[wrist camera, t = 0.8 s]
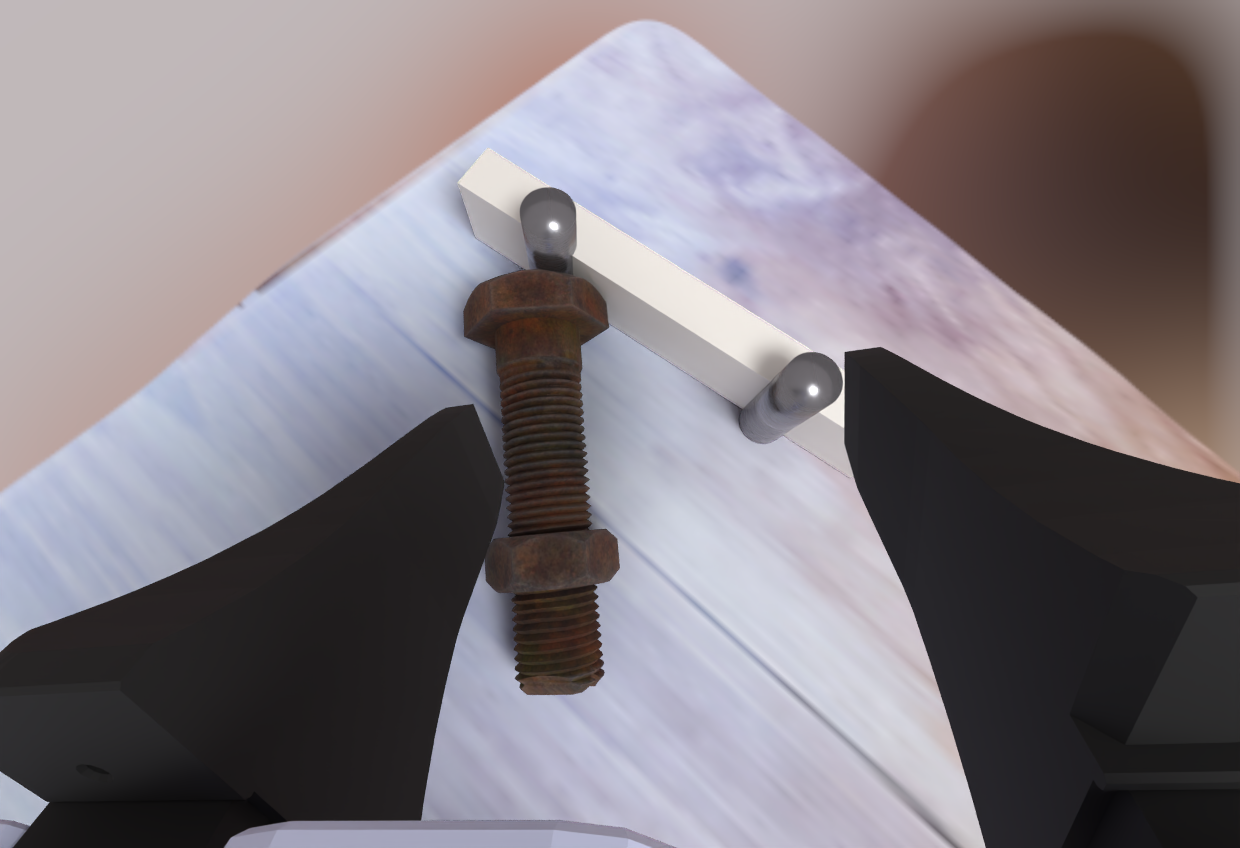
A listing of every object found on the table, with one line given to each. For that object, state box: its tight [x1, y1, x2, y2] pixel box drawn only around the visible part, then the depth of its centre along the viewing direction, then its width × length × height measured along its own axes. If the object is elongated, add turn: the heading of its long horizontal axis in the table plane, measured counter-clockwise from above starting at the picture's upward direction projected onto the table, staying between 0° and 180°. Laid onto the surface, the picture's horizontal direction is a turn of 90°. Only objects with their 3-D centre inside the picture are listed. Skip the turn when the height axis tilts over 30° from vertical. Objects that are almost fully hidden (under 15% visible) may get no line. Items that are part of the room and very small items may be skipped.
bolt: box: [464, 269, 620, 695], centre depth 22 cm, size 6×5×15 cm
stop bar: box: [457, 148, 854, 478], centre depth 23 cm, size 3×20×6 cm, turn 57°
